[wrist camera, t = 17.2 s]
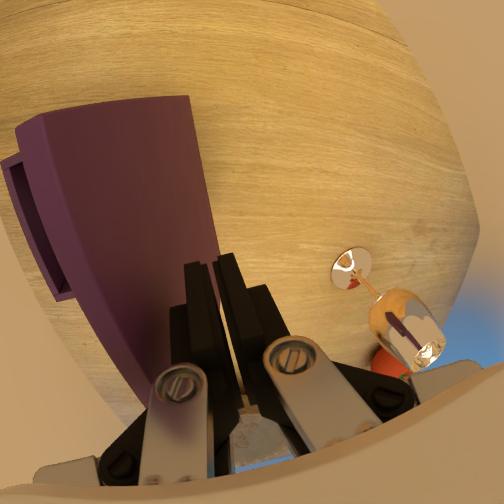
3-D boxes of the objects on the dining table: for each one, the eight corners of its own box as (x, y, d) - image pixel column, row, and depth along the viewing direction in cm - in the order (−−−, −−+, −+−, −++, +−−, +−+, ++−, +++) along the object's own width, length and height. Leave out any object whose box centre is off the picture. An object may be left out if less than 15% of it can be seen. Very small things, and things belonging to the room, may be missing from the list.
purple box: (86, 242, 34) (56, 302, 23) (54, 139, 27) (-1, 161, 16) (203, 211, 36) (217, 263, 25) (181, 100, 29) (183, 96, 18)
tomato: (354, 366, 60) (375, 400, 51) (381, 331, 56) (407, 364, 47) (383, 367, 63) (404, 396, 55) (408, 334, 60) (433, 363, 51)
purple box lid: (194, 465, 11) (211, 466, 11) (12, 127, 4) (41, 112, 4) (213, 267, 25) (223, 265, 25) (177, 97, 18) (189, 94, 18)
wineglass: (366, 285, 49) (437, 367, 31) (326, 292, 47) (392, 386, 30) (376, 244, 45) (462, 321, 28) (334, 248, 43) (417, 338, 26)
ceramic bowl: (274, 355, 51) (292, 399, 43) (292, 412, 63) (306, 447, 54) (159, 390, 49) (161, 436, 41) (203, 439, 61) (210, 474, 52)
